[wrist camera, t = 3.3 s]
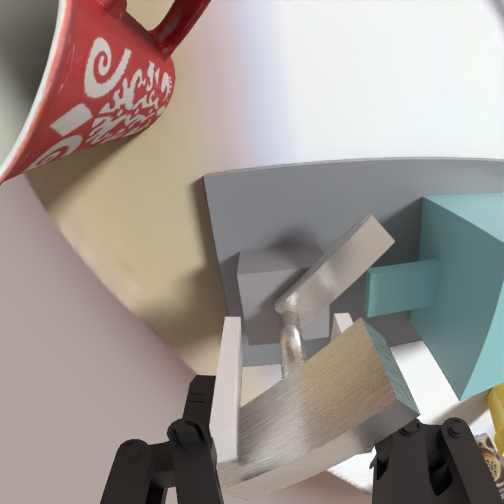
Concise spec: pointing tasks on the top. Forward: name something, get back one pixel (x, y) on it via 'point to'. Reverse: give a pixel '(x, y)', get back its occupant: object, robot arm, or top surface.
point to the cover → (453, 288)
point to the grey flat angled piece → (321, 382)
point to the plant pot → (497, 414)
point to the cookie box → (492, 461)
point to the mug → (81, 75)
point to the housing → (323, 234)
